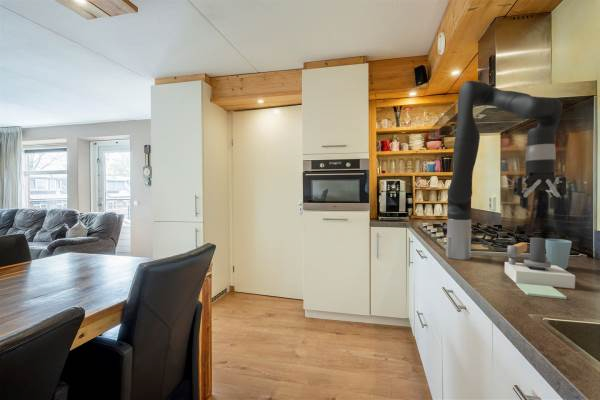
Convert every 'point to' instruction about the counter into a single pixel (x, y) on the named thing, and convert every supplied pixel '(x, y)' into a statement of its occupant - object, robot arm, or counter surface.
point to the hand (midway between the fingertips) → (538, 208)
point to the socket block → (539, 275)
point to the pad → (541, 291)
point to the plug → (537, 255)
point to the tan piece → (516, 249)
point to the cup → (558, 252)
